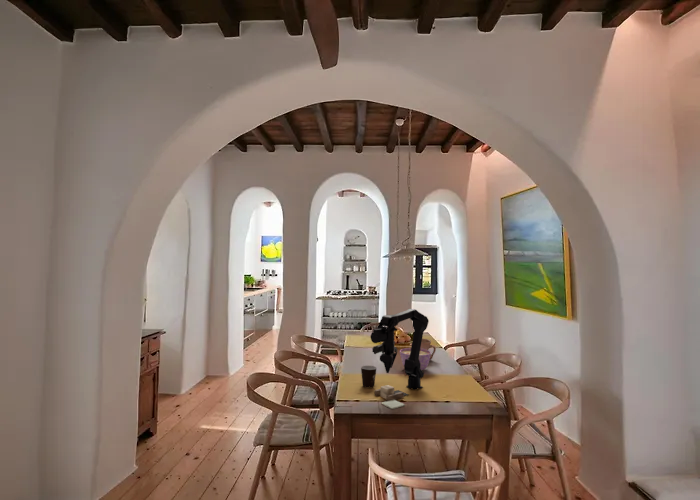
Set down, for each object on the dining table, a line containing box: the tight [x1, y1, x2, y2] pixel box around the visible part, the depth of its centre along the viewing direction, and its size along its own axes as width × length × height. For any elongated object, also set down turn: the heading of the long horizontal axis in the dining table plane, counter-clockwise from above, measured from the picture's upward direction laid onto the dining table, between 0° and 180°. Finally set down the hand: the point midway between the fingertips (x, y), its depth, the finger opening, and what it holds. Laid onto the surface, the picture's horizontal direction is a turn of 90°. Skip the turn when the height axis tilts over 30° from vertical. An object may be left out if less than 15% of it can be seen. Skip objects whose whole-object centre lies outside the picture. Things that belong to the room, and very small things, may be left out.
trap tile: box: [394, 389, 410, 397], centre depth 203 cm, size 5×8×1 cm, turn 35°
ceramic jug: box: [409, 338, 437, 362], centre depth 271 cm, size 18×14×14 cm
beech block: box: [379, 384, 395, 400], centre depth 198 cm, size 5×5×5 cm
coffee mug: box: [360, 364, 377, 389], centre depth 216 cm, size 12×9×10 cm
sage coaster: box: [380, 399, 406, 410], centre depth 187 cm, size 8×8×1 cm
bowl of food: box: [399, 347, 432, 371], centre depth 248 cm, size 20×20×12 cm
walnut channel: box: [373, 388, 404, 402], centre depth 199 cm, size 10×11×2 cm
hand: (389, 370), depth 201 cm, fingers open, 9 cm apart
